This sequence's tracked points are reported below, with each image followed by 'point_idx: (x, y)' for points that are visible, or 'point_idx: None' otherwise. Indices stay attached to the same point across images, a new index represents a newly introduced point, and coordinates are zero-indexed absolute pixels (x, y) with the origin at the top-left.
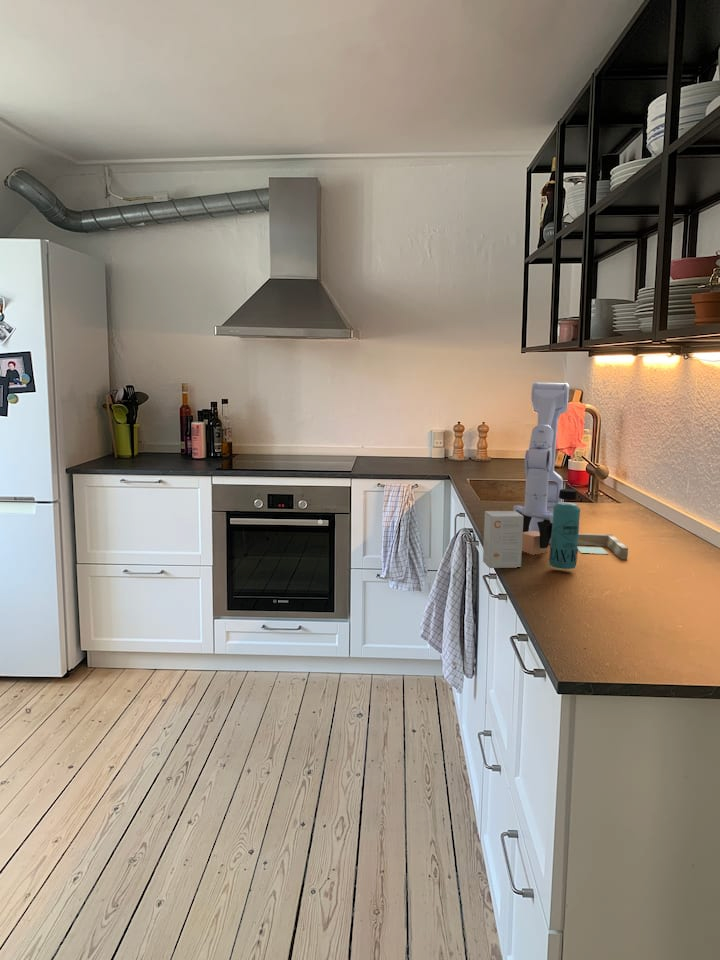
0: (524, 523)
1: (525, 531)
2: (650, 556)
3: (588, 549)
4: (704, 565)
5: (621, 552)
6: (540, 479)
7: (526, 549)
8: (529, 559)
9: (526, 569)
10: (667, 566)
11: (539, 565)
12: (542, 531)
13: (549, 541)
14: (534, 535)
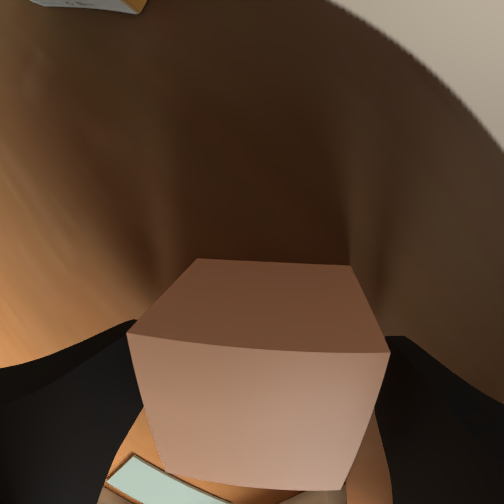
0: (427, 499)
1: (399, 439)
2: None
3: (170, 496)
4: None
5: None
6: None
7: (266, 270)
8: (117, 144)
9: (24, 25)
10: None
11: (24, 122)
12: (2, 374)
13: (336, 490)
14: (171, 380)
